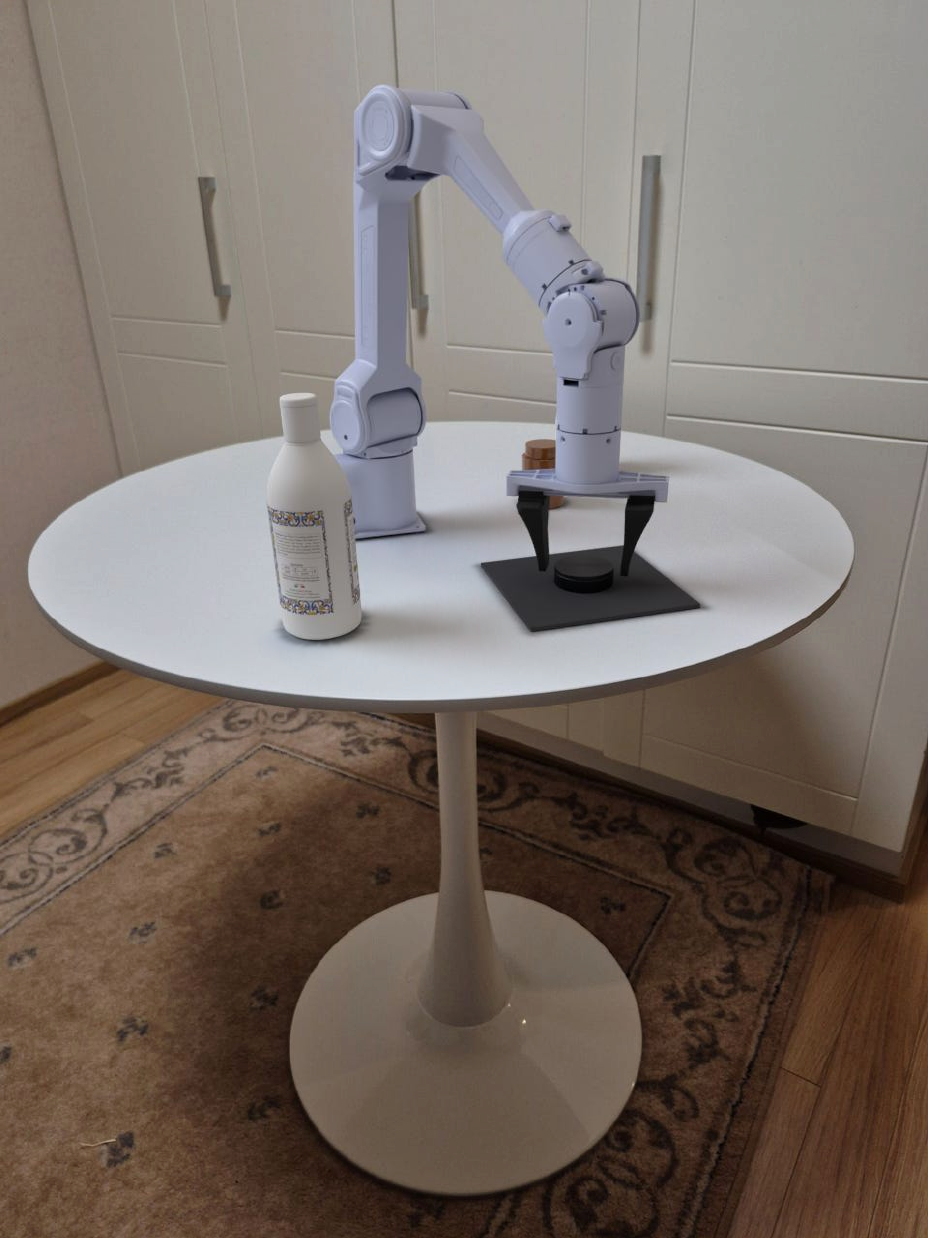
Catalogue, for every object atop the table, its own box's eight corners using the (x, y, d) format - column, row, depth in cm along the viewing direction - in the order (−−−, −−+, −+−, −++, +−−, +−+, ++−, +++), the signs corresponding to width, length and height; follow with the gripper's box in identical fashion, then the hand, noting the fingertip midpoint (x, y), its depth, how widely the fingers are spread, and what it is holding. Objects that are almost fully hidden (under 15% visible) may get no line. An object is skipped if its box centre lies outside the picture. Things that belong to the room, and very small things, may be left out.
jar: (529, 511, 103) (530, 450, 100) (516, 498, 108) (515, 440, 105) (570, 506, 105) (571, 446, 101) (554, 494, 109) (555, 436, 106)
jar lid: (610, 595, 79) (611, 578, 78) (549, 591, 80) (549, 574, 79) (615, 572, 84) (616, 556, 83) (558, 569, 85) (558, 553, 84)
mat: (530, 631, 74) (530, 627, 73) (480, 566, 88) (480, 562, 87) (699, 607, 77) (700, 603, 77) (625, 548, 91) (625, 544, 91)
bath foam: (332, 602, 80) (310, 384, 72) (378, 623, 76) (359, 394, 67) (268, 625, 76) (236, 397, 68) (312, 650, 72) (284, 408, 63)
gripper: (673, 419, 78) (662, 559, 84) (515, 415, 81) (516, 550, 87) (671, 437, 72) (660, 587, 77) (501, 433, 75) (502, 577, 81)
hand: (583, 570), depth 82 cm, fingers open, 7 cm apart
